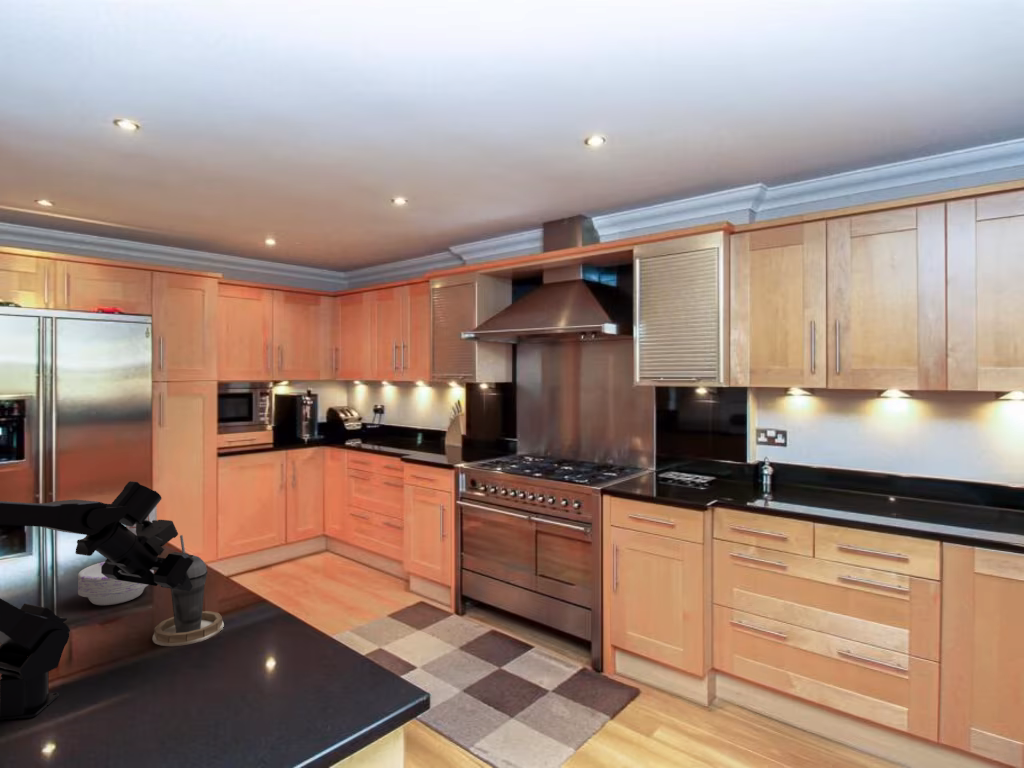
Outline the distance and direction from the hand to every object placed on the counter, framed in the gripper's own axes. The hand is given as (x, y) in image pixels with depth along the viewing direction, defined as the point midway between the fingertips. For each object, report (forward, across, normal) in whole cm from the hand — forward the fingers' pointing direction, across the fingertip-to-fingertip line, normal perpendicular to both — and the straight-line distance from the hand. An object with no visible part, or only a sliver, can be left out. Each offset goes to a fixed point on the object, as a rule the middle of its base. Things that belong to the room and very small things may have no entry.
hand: (174, 586), depth 116 cm
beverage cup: (+10, 0, +5) cm, 11 cm away
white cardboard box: (+29, +50, -14) cm, 60 cm away
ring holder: (+10, 0, +5) cm, 11 cm away
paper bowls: (+16, +34, -1) cm, 37 cm away
